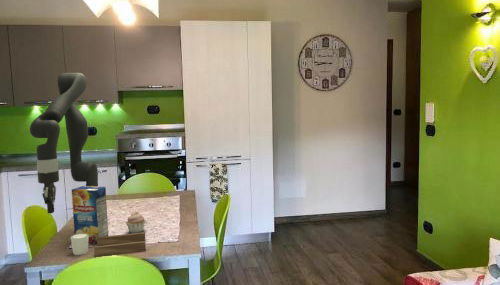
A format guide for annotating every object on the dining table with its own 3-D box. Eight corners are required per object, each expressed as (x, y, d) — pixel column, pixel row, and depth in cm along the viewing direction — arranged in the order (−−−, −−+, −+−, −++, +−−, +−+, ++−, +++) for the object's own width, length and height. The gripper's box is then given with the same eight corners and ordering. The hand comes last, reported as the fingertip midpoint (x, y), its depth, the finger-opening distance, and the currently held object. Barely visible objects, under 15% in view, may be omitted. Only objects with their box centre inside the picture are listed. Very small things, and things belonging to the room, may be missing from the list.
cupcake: (139, 235, 184) (138, 214, 183) (122, 233, 187) (120, 213, 186) (150, 229, 192) (149, 209, 191) (133, 227, 195) (132, 207, 194)
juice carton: (75, 242, 176) (71, 189, 173) (85, 237, 183) (82, 185, 180) (98, 244, 173) (95, 190, 170) (108, 238, 180) (105, 186, 178)
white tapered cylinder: (84, 247, 169) (83, 232, 169) (92, 251, 165) (91, 235, 164) (68, 252, 164) (67, 236, 163) (76, 256, 160) (75, 239, 159)
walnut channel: (97, 244, 173) (97, 237, 172) (145, 239, 178) (145, 232, 177) (94, 256, 160) (93, 247, 159) (145, 250, 165) (145, 242, 165)
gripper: (41, 168, 164) (44, 209, 166) (33, 173, 151) (36, 218, 153) (61, 167, 166) (64, 208, 167) (54, 172, 153) (57, 216, 155)
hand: (51, 212), depth 160 cm, fingers closed
